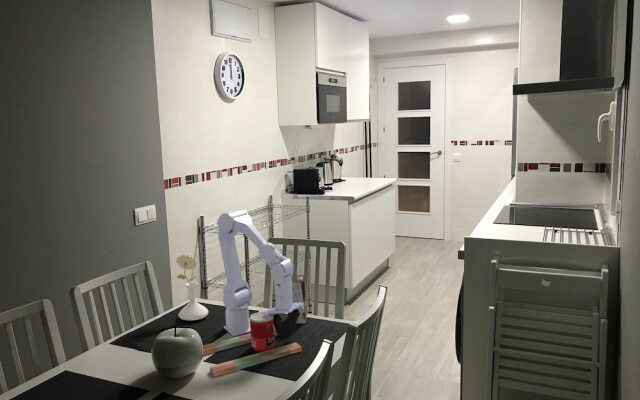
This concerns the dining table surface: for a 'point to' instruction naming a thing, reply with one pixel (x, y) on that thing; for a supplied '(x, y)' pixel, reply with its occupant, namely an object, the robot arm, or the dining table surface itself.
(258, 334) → the canned food
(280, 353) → the orange green bars
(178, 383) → the dining table surface
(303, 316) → the coffee box
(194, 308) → the flower in vase
